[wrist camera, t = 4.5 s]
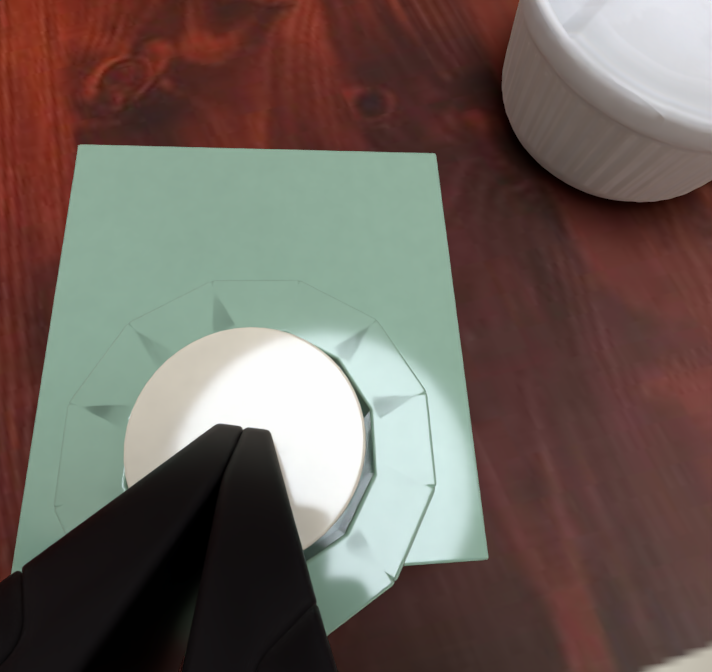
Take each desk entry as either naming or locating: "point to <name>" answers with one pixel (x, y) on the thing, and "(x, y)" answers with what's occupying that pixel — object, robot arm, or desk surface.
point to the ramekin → (614, 94)
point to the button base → (265, 310)
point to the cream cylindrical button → (258, 415)
